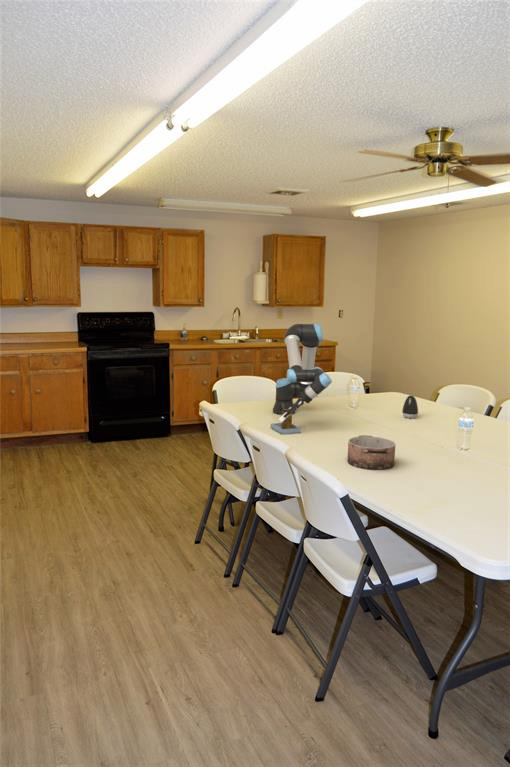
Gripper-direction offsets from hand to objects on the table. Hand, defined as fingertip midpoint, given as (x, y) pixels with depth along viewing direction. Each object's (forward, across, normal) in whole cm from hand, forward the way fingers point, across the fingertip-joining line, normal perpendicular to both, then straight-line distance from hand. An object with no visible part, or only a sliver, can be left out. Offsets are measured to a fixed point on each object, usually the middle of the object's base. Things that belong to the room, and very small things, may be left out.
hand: (282, 417), depth 341 cm
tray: (+4, 0, -7) cm, 8 cm away
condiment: (+4, 0, -6) cm, 7 cm away
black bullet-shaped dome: (-47, +64, -58) cm, 98 cm away
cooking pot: (-32, -52, -43) cm, 75 cm away
